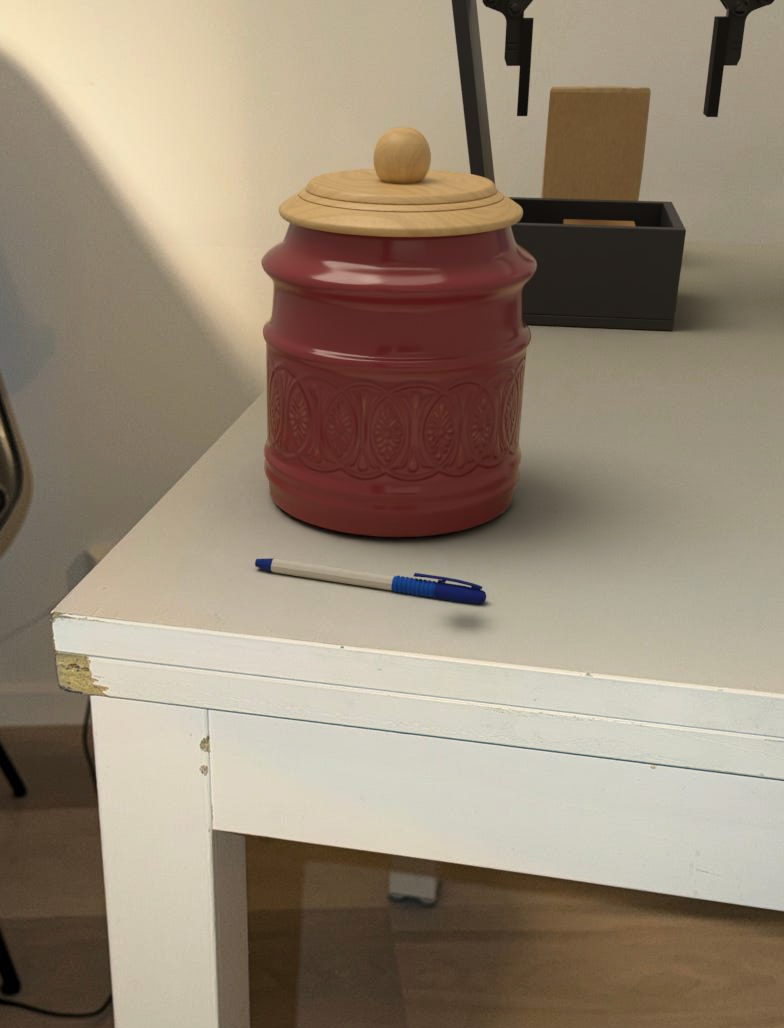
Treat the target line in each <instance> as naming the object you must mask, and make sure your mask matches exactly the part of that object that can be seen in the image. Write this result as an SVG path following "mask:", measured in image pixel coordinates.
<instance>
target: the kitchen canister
mask: <svg viewBox="0 0 784 1028" xmlns="http://www.w3.org/2000/svg"><path fill="white" fill-rule="evenodd" d="M372 162H373V167H374V168H364V169H363V168H361V169H349V170H340V171H334V172H328V173H323V174H319V175H316V176H314V177H312V178H311V179H310V180H309V181H308V183H307V184H306V186H305V187H303V188H302V189H301V190H300V191H298V192H296V193H294V194H293V195H292V196H289V197H287V198H286V199H285V200H284V201H283V202H281V203H280V205H279V206H278V214H279V215H280V217H281V218H282V219H283V220H284V221H286V222H288V223H289V224H288V226H287V229H286V232H285V235H284V237H283V239H282V240H279V242H277V243H275V244H274V245H273V246H271V247H270V248H268V249H267V250H266V251H265V253H264V254H263V255H262V257H261V261H260V262H261V267H262V269H263V271H264V272H265V274H266V275H267V276H268V277H269V278H270V280H271V281H272V285H273V292H272V304H271V305H272V307H271V315H270V317H269V318H268V319H267V320H266V321H265V323H264V325H263V328H262V336H263V339H264V341H265V348H266V350H265V351H266V353H265V355H266V357H265V361H266V363H265V364H266V424H267V425H266V432H267V433H266V440H265V443H264V447H263V455H264V465H263V467H264V469H263V470H264V473H265V476H266V479H267V481H268V487H269V495H270V497H271V499H272V501H273V502H274V504H276V506H278V508H280V509H281V510H283V511H284V512H285V513H286V514H288V515H290V516H292V517H293V518H295V519H297V520H299V521H301V522H304V523H307V524H309V525H313V526H316V527H319V528H323V529H325V530H330V531H333V532H334V531H335V532H339V533H345V534H350V535H359V536H367V537H368V536H369V537H379V538H416V537H417V538H419V537H429V536H430V537H431V536H438V535H445V534H450V533H451V534H452V533H456V532H461V531H466V530H468V529H472V528H475V527H478V526H481V525H483V524H486V523H488V522H489V521H492V520H494V519H495V518H496V517H498V516H500V515H502V514H503V513H504V512H505V511H506V510H507V509H508V508H509V507H510V506H511V504H512V502H513V499H514V492H515V488H516V486H517V484H518V482H519V480H520V476H521V466H520V465H521V462H522V457H523V455H522V450H521V447H520V434H521V422H522V409H523V398H524V397H523V396H524V385H525V373H526V362H527V361H526V360H527V359H526V358H527V349H528V347H529V345H530V343H531V341H532V333H531V329H530V328H529V327H530V326H528V325H526V324H525V323H524V322H523V288H524V285H525V284H526V283H527V282H528V281H529V280H530V279H531V278H532V276H533V275H534V274H535V272H536V270H537V262H536V260H535V258H534V257H533V255H532V254H530V253H529V252H528V251H527V250H526V249H524V248H523V247H522V246H520V245H519V244H517V243H516V241H515V238H514V235H513V231H512V228H511V226H512V225H514V224H516V223H517V222H519V221H520V219H521V218H522V216H523V209H522V208H521V206H520V205H518V204H517V203H516V202H514V201H513V200H511V199H510V198H508V197H509V196H507V195H505V194H504V193H503V192H501V191H500V190H499V189H498V188H497V186H496V184H495V185H494V183H493V182H492V181H491V180H489V179H487V178H484V177H481V176H477V175H473V174H471V173H466V172H460V171H451V170H444V169H443V170H441V169H430V168H431V162H432V153H431V147H430V145H429V142H428V140H427V138H426V136H425V135H424V134H423V133H422V132H421V131H419V130H418V129H416V128H413V127H410V126H409V127H407V126H397V127H392V128H390V129H388V130H386V131H384V132H383V134H382V135H381V136H380V137H379V138H378V140H377V142H376V144H375V146H374V150H373V161H372Z"/></svg>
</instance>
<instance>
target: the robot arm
mask: <svg viewBox="0 0 784 1028" xmlns="http://www.w3.org/2000/svg"><path fill="white" fill-rule="evenodd" d="M719 1H720V3H721V4H722V6H723V7H724V9H725V10H726V13H725V15H724V16H723V15H722V16H719V15H718V16H717V15H716V16H714V19H713V26H712V36H711V43H710V53H709V61H708V69H707V77H706V85H705V94H704V102H703V103H704V104H703V110H702V114H703V115H704V116H705V117H706V118H718V117H719V108H720V103H721V92H722V85H723V76H724V69H725V66H734V67H735V66H738V65H739V62H740V59H741V58H742V51H743V50H742V49H743V41H744V34H745V28H746V27H745V26H746V20H747V18H748V16H749V14H750V13H752V12H753V11H756V10H758V9H761V8H764V7H766V6H770V5H772V4H773V3H774V2H775V0H719ZM532 2H534V0H482V4H483V6H485V7H486V8H489V9H491V10H493V11H496V12H499V13H500V14H502V15H503V16H504V18H505V40H504V57H503V59H504V61H505V62H504V63H505V65H506V67H519V72H518V73H519V74H518V91H517V105H516V106H517V108H516V117H528V113H529V99H530V82H531V66H532V52H533V51H532V50H533V34H534V20H535V18H534V17H525V11H526V9H527V8H528V7H529V6H530V5H531V4H532Z"/></svg>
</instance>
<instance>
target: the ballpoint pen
mask: <svg viewBox="0 0 784 1028" xmlns="http://www.w3.org/2000/svg"><path fill="white" fill-rule="evenodd" d="M254 566H255V568H258V569H261V570H264V571H268V572H271V573H275V574H282V575H286V576H287V575H288V576H296V577H301V578H307V579H313V580H314V579H315V580H320V581H328V582H334V583H340V584H347V585H354V586H361V587H367V588H373V589H379V590H380V589H381V590H387V591H392V592H394V593H398V594H402V593H403V595H406V594H407V595H411V596H417V597H419V596H421V597H425V598H431V599H433V598H434V599H437V600H442V601H449V602H455V603H456V602H457V603H464V604H476V605H477V604H478V605H479V604H481V605H482V604H484V603H485V602H486V600H487V593H486V591H485V590H483V586H482V585H480V584H477V583H473V582H470V581H465V580H461V579H457V578H452V577H446V576H442V575H441V576H440V575H435V574H426V573H419V572H414V573H413V577H409V576H403V575H402V576H401V575H389V574H381V573H374V572H370V571H369V572H368V571H361V570H354V569H348V568H341V567H335V566H329V565H321V564H316V563H315V564H314V563H308V562H301V561H294V560H289V559H288V560H287V559H281V558H274V557H273V558H272V557H271V558H270V557H269V558H256V559H255V561H254ZM422 578H426V579H422ZM430 579H432V580H430ZM433 579H434V580H433ZM435 580H437V581H435ZM449 582H451V583H449ZM456 583H457V584H456Z"/></svg>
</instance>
